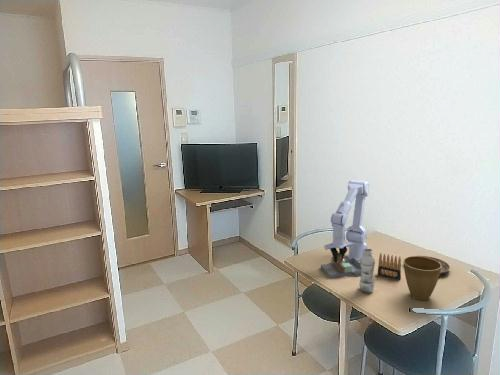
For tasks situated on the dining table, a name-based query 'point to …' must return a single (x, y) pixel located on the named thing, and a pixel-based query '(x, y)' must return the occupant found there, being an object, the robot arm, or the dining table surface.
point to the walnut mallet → (339, 263)
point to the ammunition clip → (389, 267)
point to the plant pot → (421, 276)
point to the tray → (354, 266)
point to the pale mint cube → (347, 267)
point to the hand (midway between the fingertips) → (338, 260)
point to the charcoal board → (334, 271)
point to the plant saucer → (444, 267)
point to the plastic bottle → (367, 271)
